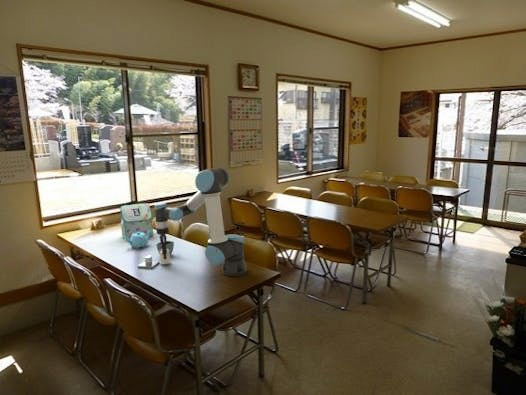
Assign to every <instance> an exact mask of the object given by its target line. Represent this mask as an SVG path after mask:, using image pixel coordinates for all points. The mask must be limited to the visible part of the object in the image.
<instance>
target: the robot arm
mask: <svg viewBox="0 0 526 395" xmlns="http://www.w3.org/2000/svg"><path fill="white" fill-rule="evenodd" d="M230 177H231V176H230V173H229V172H228V171H227V170H226V169H225V168H222V167H214V168H208V169H204V170H201V171H199V172H198V173H197V174H196V176H195V180H194V182H195V183H194V184H195V187H196V189H197V190H198V191H196V193H195V194H193V195H192V196H191V197H190V198H189V199H188V200H187V201H186V202H185V203H184V204H181V205H177V206H174V207H168V206H167V203H165V202H158V203H157V202H156V203H155V204H154V217H155V218H154V219H155V223H154V224H155V227H156V229H155V230H156V231H155V232H156V234H157V235H159V239H160V242H161V245H162V247H161V248H162V251H163V253H162V255H163V264H162V265H168V264H169V263H168V261H167V248H166V241H167V235H168V234H169V232H170V231H169V221H175V222H177V221H181V220H182V218H184V217H188V216H192V215H193V214H195V213H196V212H197V209H198V208H200V207H202V205H203V204H204V205H205V206H204V207H205V211H206V219H207V226H208V234H209V239H208V240H207V245H208V246H207V247H206V249H205V251H204V255H205V258H206V260H207V261H208V262H209V263H210V264H211V265H215V266H218V265H221V264H223V265H222V269H221V273H222V274H223V275H224V276H227V277H239V276H242V275H243V276H244V275H245V274H246V273H247V271H248V269H247V268H248V267H247V265H246V261H245V259H244V258H245V257H244V256H245V255H244V238H243V236H242V235H239V234H225V226H224V218H223V212H222V205H221V198H220V197H221V193H222V192H223V191H222V190H223V189H224V188H225V187H227V185H228V184H229V182H230V180H231V179H230ZM167 263H168V264H167Z"/></svg>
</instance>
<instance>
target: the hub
mask: <svg viewBox="0 0 526 395" xmlns="http://www.w3.org/2000/svg"><path fill="white" fill-rule="evenodd" d="M152 257H153V256H152V255H146V256H145V257H144V261H143V262H141V263H140V264H138V265H137V269H144V270H145V269H147V270H153V269H155V268H156V267H158V265H159V264H160V265H161V263H160V260H153V258H152Z"/></svg>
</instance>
